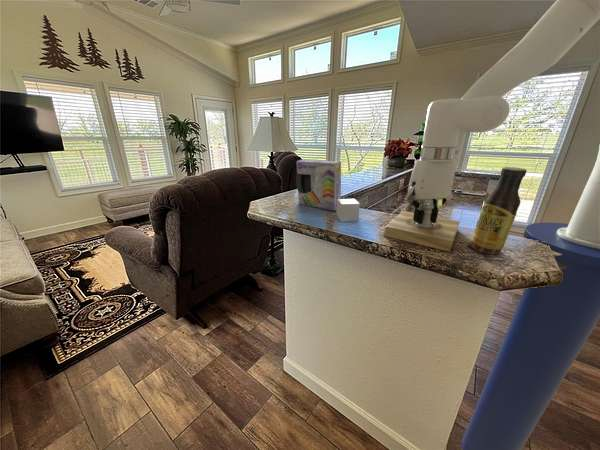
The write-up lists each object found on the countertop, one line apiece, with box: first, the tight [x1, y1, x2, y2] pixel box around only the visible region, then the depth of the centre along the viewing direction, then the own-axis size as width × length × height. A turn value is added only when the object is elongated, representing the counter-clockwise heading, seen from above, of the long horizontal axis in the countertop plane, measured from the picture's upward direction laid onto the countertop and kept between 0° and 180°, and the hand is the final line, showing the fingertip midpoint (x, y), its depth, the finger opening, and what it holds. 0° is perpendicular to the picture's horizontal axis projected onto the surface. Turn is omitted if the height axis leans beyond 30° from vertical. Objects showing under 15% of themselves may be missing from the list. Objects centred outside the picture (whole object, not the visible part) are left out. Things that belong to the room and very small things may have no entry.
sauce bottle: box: [470, 166, 528, 255], centre depth 54 cm, size 7×6×20 cm
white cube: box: [335, 197, 361, 223], centre depth 79 cm, size 6×6×6 cm
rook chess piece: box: [415, 201, 434, 227], centre depth 66 cm, size 4×4×8 cm
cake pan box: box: [295, 158, 342, 212], centre depth 90 cm, size 19×5×18 cm, turn 48°
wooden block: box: [384, 210, 461, 253], centre depth 67 cm, size 16×16×3 cm
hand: (424, 221), depth 66 cm, fingers closed on rook chess piece, 3 cm apart
